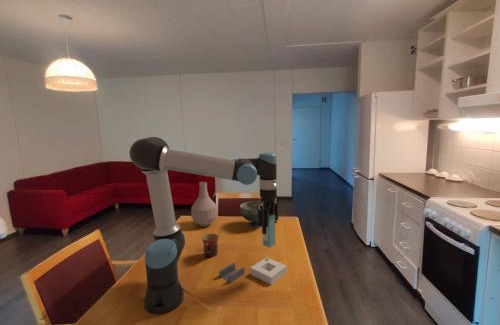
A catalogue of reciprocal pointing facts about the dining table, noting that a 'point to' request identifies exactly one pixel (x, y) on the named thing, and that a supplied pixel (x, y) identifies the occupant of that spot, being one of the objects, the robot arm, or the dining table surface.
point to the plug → (270, 231)
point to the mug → (210, 245)
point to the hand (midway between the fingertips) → (268, 238)
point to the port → (265, 275)
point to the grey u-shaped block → (231, 273)
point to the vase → (204, 207)
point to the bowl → (251, 213)
